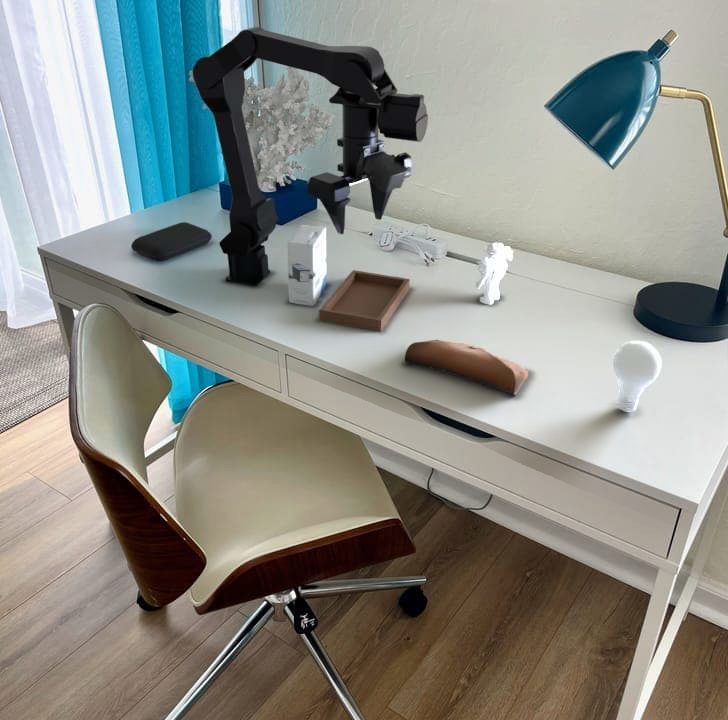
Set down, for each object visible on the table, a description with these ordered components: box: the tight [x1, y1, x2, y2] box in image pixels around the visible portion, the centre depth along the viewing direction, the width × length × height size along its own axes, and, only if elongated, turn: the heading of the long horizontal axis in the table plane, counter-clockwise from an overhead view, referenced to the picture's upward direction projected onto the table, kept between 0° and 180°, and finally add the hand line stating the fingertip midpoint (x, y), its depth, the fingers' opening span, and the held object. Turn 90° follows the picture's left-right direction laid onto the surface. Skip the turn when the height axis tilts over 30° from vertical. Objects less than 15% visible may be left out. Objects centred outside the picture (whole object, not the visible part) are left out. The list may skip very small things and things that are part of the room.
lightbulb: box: [612, 340, 662, 413], centre depth 102 cm, size 6×6×11 cm
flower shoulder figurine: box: [474, 241, 514, 305], centre depth 130 cm, size 9×4×12 cm, turn 140°
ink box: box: [286, 224, 327, 307], centre depth 131 cm, size 9×5×12 cm, turn 168°
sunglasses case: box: [404, 339, 530, 396], centre depth 113 cm, size 18×7×7 cm
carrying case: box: [131, 221, 213, 262], centre depth 150 cm, size 11×3×15 cm
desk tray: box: [318, 269, 411, 332], centre depth 131 cm, size 11×17×2 cm
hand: (359, 226), depth 125 cm, fingers open, 9 cm apart
